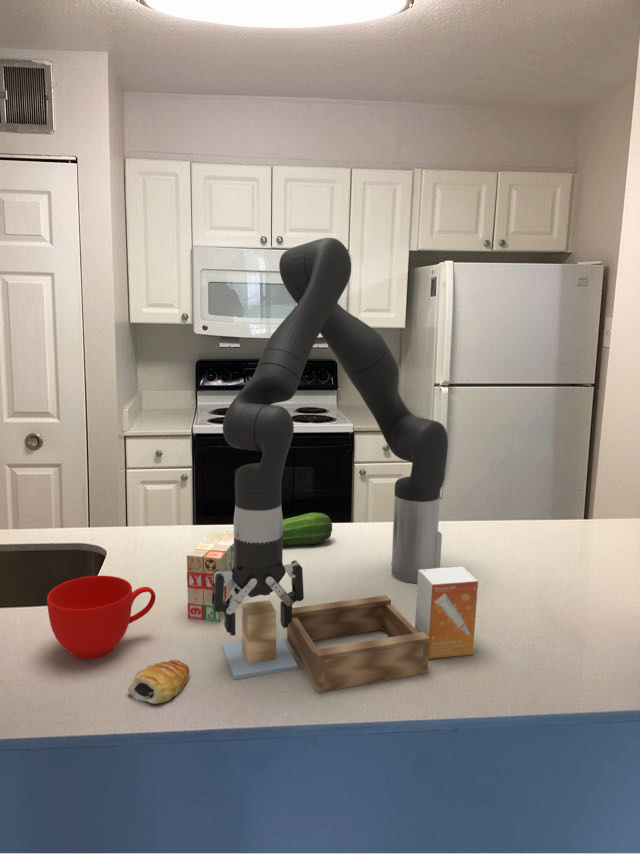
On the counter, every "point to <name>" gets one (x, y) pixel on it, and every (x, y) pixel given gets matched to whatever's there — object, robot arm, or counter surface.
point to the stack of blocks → (208, 574)
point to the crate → (360, 659)
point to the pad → (243, 669)
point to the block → (259, 631)
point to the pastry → (159, 681)
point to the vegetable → (306, 529)
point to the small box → (447, 610)
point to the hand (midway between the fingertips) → (258, 629)
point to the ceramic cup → (93, 613)
